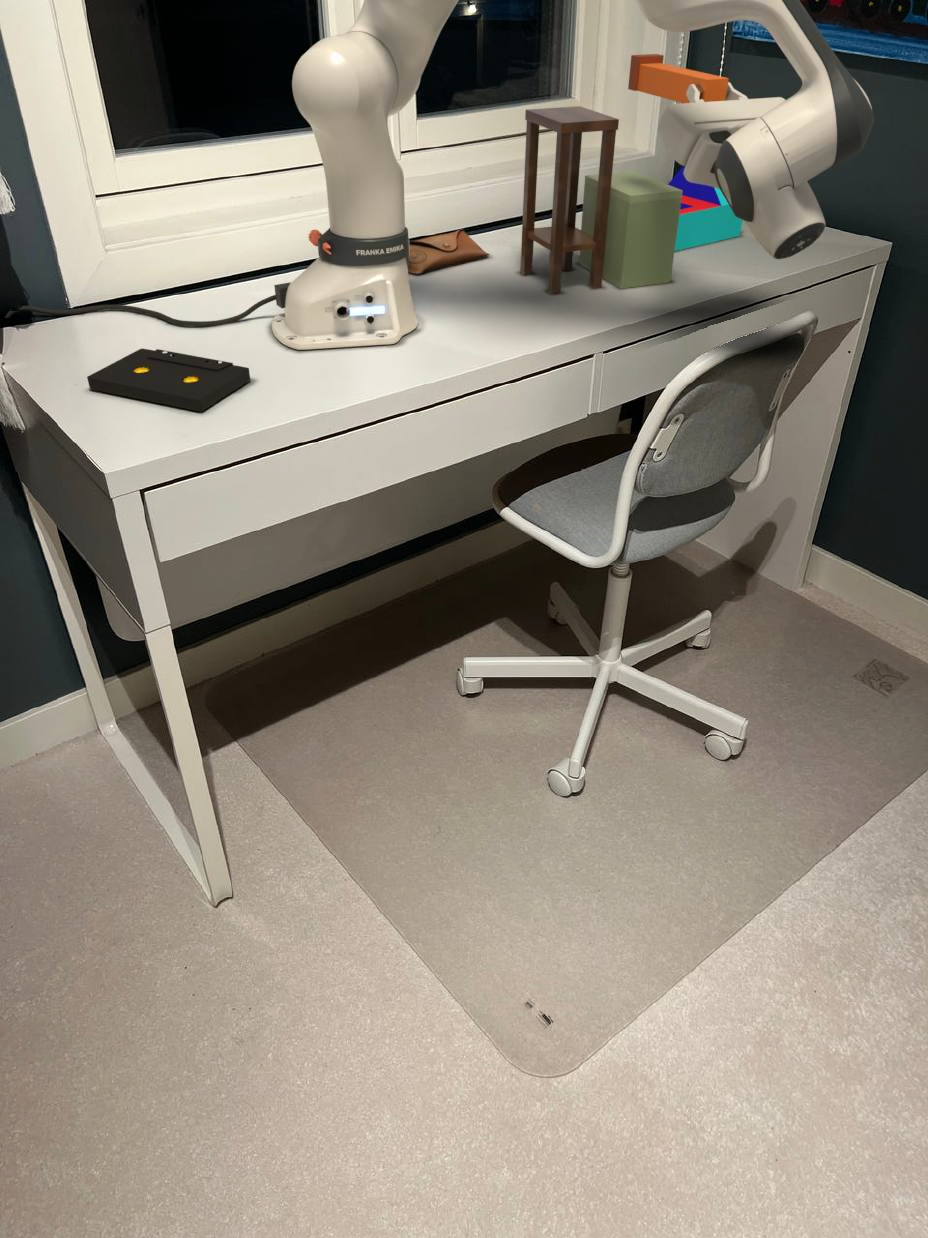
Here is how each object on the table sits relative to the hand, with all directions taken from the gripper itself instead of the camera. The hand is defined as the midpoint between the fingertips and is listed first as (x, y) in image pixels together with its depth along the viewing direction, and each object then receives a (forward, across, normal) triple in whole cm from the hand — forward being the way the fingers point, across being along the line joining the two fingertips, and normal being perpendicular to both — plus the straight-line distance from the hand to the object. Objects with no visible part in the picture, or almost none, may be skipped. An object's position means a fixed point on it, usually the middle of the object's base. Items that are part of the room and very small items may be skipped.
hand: (707, 87), depth 134 cm
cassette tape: (-16, +80, +28) cm, 86 cm away
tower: (+6, 0, +6) cm, 8 cm away
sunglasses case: (+18, +25, +48) cm, 57 cm away
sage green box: (+3, -3, +39) cm, 39 cm away
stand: (+3, +10, +39) cm, 40 cm away
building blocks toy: (+23, -25, +50) cm, 60 cm away
